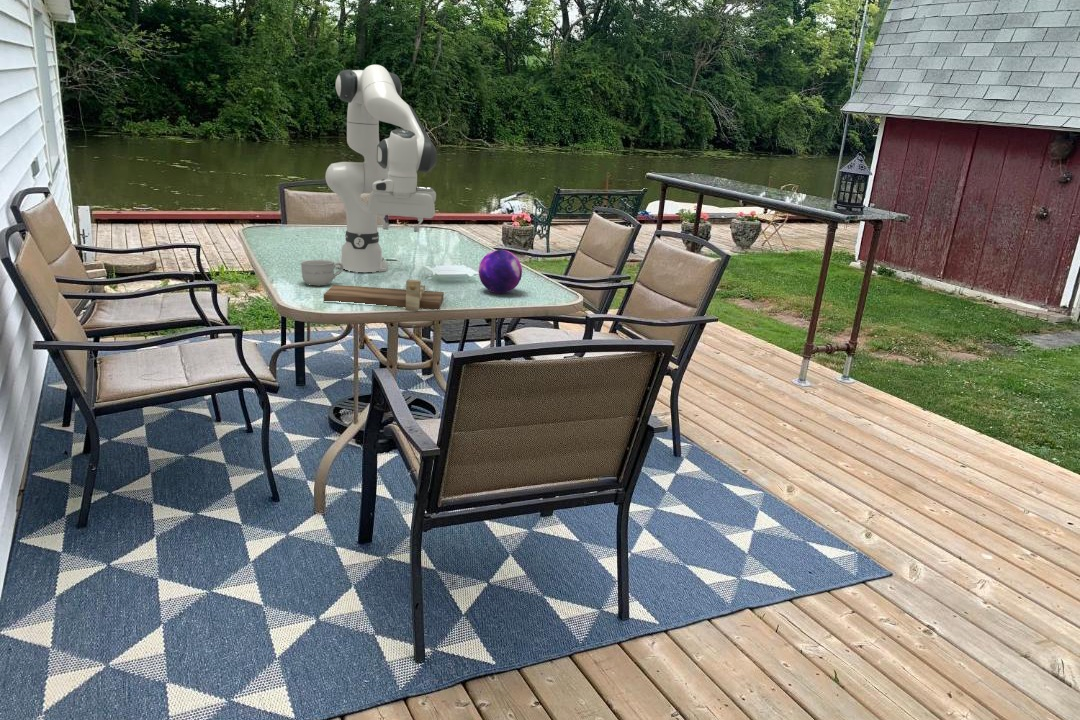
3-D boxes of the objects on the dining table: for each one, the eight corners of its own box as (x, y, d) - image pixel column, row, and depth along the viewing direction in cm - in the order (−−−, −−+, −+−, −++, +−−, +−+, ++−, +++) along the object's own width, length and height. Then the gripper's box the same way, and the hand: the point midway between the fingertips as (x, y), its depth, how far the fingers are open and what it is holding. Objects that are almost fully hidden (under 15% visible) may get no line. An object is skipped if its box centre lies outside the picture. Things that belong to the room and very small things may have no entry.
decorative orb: (488, 285, 291) (490, 244, 286) (527, 291, 286) (529, 249, 281) (470, 293, 277) (472, 250, 273) (510, 300, 272) (513, 256, 268)
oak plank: (333, 292, 265) (333, 284, 264) (443, 299, 266) (443, 291, 266) (323, 302, 252) (323, 294, 251) (439, 309, 253) (439, 302, 252)
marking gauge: (412, 297, 265) (413, 270, 262) (424, 298, 265) (425, 271, 262) (405, 310, 249) (406, 281, 246) (418, 311, 249) (419, 282, 246)
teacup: (301, 288, 267) (301, 264, 265) (301, 280, 277) (300, 257, 275) (344, 288, 271) (344, 264, 269) (342, 281, 281) (342, 258, 279)
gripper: (437, 186, 249) (435, 231, 253) (370, 181, 248) (370, 225, 252) (435, 189, 243) (433, 235, 247) (367, 184, 242) (366, 229, 246)
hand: (401, 230), depth 250 cm, fingers open, 8 cm apart
